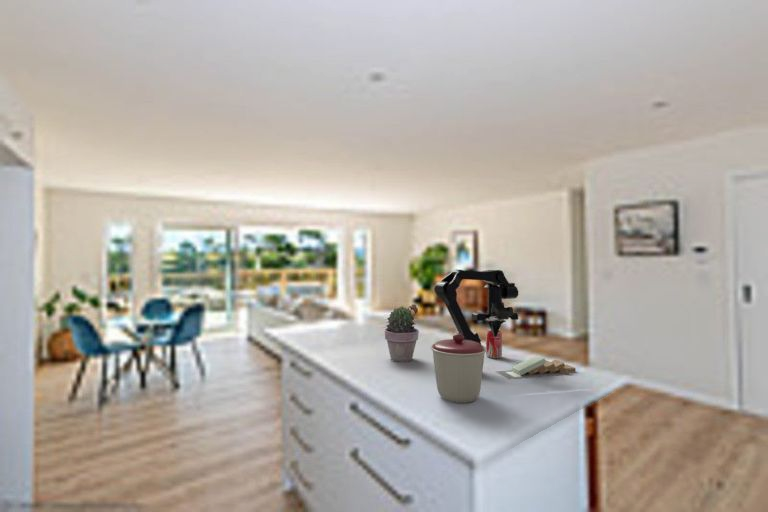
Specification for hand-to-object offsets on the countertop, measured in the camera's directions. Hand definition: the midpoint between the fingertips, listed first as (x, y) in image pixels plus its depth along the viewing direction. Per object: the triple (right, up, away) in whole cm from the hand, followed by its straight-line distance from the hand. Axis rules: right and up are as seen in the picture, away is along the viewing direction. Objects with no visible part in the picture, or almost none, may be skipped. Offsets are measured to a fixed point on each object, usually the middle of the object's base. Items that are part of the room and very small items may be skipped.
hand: (495, 336), depth 156 cm
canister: (-22, -13, -34) cm, 43 cm away
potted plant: (-40, -13, +13) cm, 44 cm away
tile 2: (+9, -12, -10) cm, 18 cm away
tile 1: (+5, -11, -11) cm, 17 cm away
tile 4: (+18, -12, -8) cm, 23 cm away
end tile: (+22, -12, -7) cm, 26 cm away
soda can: (+5, -13, +17) cm, 22 cm away
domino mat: (+13, -13, -9) cm, 20 cm away
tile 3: (+14, -12, -9) cm, 20 cm away
